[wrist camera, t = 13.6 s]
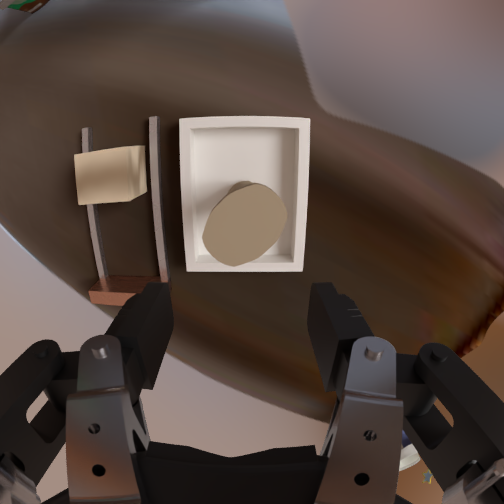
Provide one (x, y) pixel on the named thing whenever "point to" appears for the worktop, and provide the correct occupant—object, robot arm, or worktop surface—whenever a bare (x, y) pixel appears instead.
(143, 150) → the block
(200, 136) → the tray
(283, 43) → the worktop surface
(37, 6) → the food container
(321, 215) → the worktop surface
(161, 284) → the robot arm
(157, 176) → the track
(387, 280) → the worktop surface
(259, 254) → the handle
